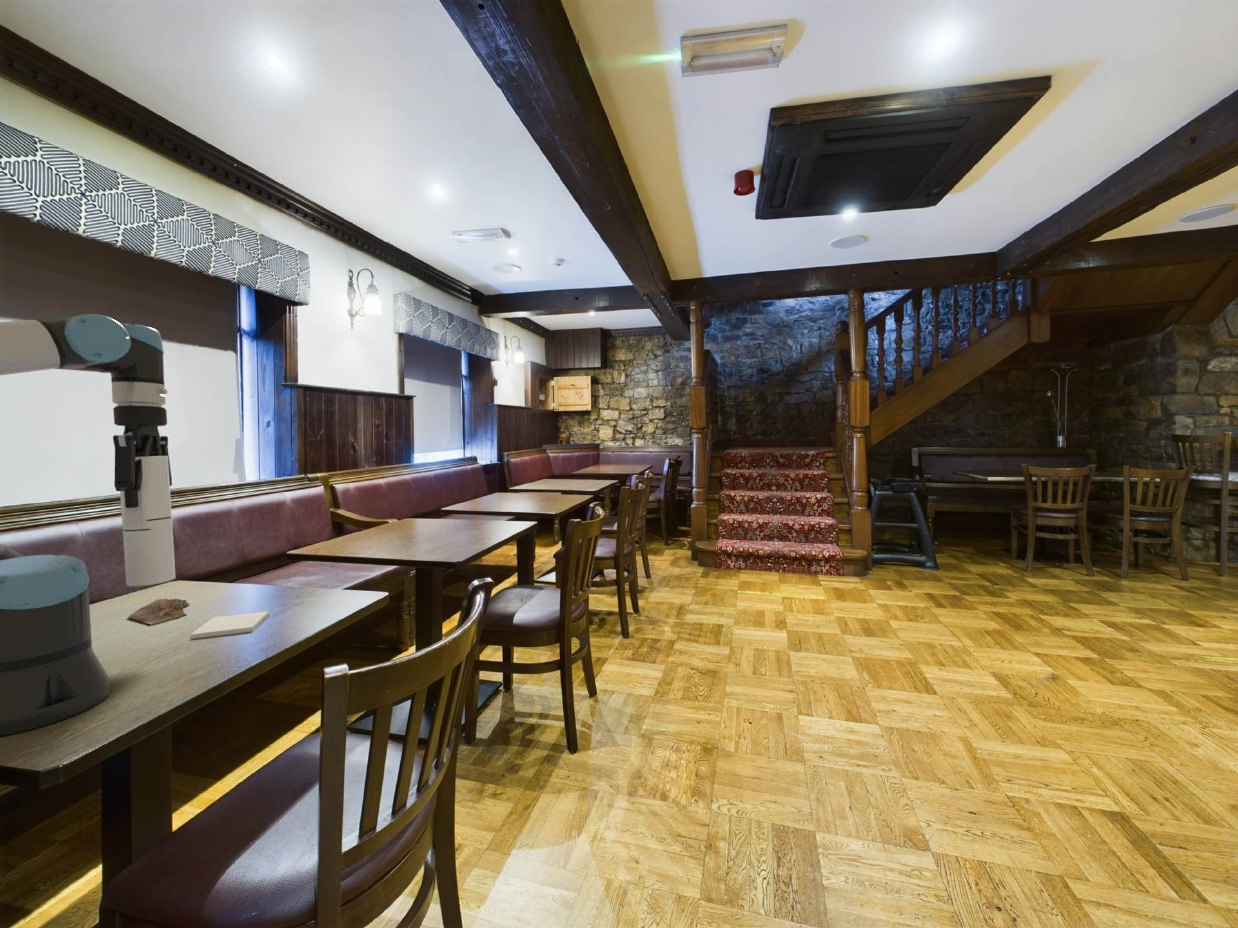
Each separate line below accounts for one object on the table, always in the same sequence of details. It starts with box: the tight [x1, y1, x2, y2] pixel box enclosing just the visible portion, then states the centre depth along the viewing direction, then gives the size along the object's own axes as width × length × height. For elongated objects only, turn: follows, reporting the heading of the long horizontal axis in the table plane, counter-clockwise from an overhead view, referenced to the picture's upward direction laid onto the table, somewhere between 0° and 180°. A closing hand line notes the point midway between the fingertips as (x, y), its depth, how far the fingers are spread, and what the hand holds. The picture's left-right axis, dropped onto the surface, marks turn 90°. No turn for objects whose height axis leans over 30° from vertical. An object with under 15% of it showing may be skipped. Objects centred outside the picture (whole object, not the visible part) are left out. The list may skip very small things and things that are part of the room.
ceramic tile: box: [190, 610, 270, 640], centre depth 112 cm, size 11×11×1 cm
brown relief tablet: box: [127, 598, 190, 627], centre depth 123 cm, size 26×11×1 cm, turn 38°
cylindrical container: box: [119, 456, 176, 587], centre depth 98 cm, size 7×7×25 cm
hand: (147, 521), depth 98 cm, fingers closed on cylindrical container, 7 cm apart
